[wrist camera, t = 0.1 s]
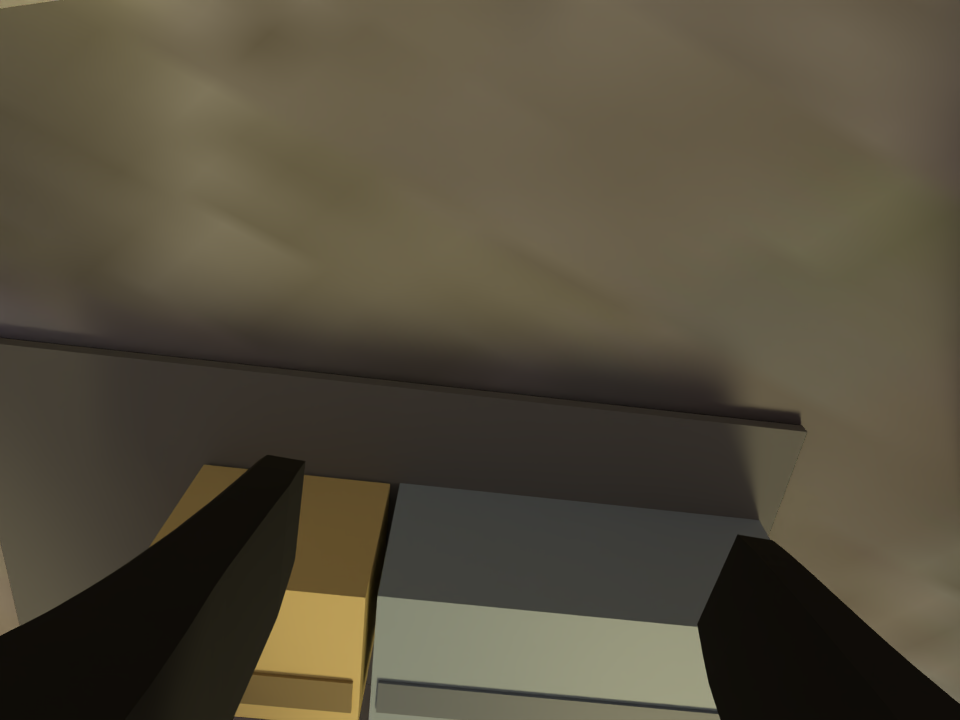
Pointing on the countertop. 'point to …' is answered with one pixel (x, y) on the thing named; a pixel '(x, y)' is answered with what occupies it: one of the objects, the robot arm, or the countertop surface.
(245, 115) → the countertop surface
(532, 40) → the countertop surface
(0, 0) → the grater
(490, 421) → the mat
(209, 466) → the stub
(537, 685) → the block
